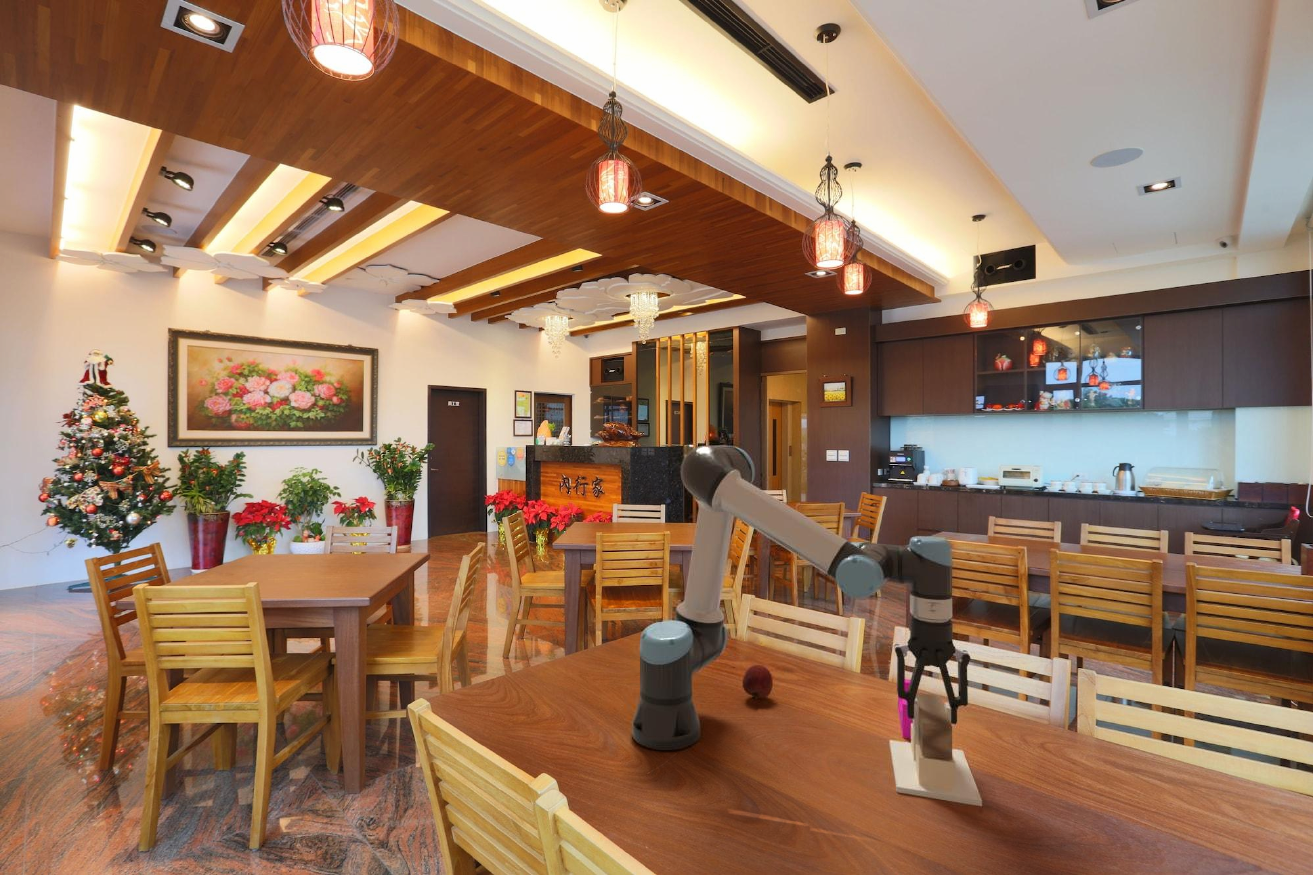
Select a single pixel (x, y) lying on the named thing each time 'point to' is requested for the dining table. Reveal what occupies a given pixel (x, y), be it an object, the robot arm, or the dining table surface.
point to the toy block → (904, 714)
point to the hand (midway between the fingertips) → (931, 736)
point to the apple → (758, 681)
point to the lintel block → (934, 727)
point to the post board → (932, 792)
